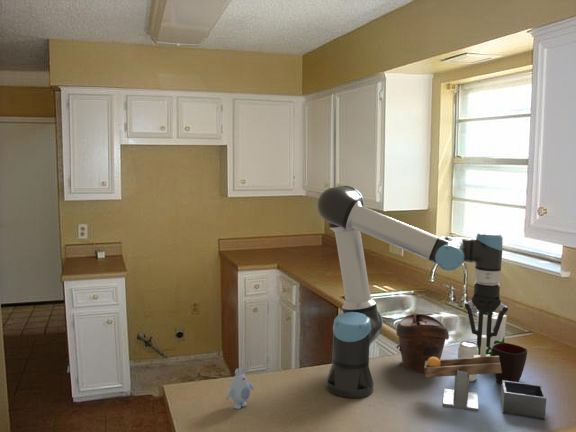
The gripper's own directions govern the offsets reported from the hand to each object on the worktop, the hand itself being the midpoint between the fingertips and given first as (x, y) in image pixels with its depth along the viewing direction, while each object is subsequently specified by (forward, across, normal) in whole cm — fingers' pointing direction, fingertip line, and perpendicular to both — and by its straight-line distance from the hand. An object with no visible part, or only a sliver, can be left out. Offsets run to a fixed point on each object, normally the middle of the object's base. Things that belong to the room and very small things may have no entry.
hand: (482, 356), depth 171 cm
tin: (+13, +11, -7) cm, 18 cm away
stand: (+13, -6, -7) cm, 16 cm away
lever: (+3, -6, -3) cm, 7 cm away
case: (+13, -20, +18) cm, 30 cm away
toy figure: (+12, -68, -34) cm, 77 cm away
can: (+13, -4, +12) cm, 18 cm away
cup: (+13, +10, +14) cm, 21 cm away
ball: (+4, -14, -7) cm, 16 cm away
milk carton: (+13, +4, +30) cm, 33 cm away
